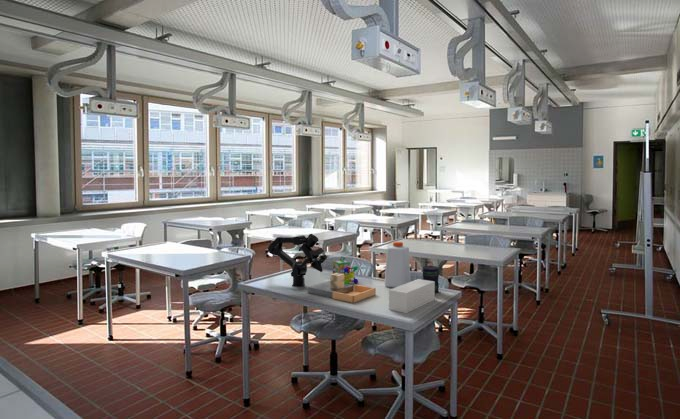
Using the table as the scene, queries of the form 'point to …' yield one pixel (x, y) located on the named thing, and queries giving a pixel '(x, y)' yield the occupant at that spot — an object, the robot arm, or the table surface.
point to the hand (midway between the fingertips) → (322, 271)
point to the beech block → (337, 281)
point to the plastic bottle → (397, 265)
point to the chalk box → (341, 266)
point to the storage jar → (431, 275)
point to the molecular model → (350, 275)
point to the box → (355, 294)
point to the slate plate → (328, 289)
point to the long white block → (411, 295)
